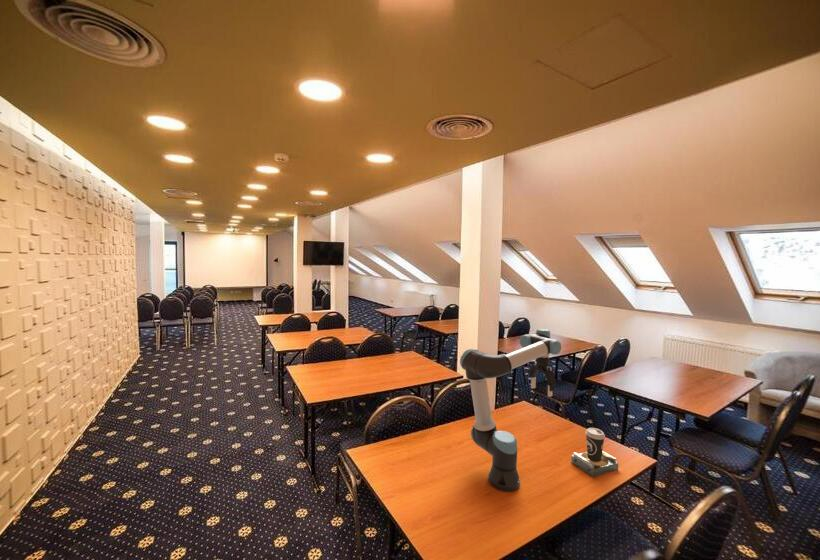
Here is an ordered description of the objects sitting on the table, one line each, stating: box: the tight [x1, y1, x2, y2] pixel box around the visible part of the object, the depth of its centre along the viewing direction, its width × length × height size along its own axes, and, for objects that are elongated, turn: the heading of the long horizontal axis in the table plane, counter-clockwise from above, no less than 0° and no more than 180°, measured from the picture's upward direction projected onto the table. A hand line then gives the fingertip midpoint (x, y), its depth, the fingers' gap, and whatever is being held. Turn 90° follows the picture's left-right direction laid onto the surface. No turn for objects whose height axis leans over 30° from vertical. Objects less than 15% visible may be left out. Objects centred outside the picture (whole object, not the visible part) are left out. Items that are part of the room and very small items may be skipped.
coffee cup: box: [584, 427, 606, 462], centre depth 185 cm, size 10×10×15 cm
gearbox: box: [570, 450, 619, 478], centre depth 185 cm, size 19×14×6 cm
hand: (541, 392), depth 200 cm, fingers open, 13 cm apart
